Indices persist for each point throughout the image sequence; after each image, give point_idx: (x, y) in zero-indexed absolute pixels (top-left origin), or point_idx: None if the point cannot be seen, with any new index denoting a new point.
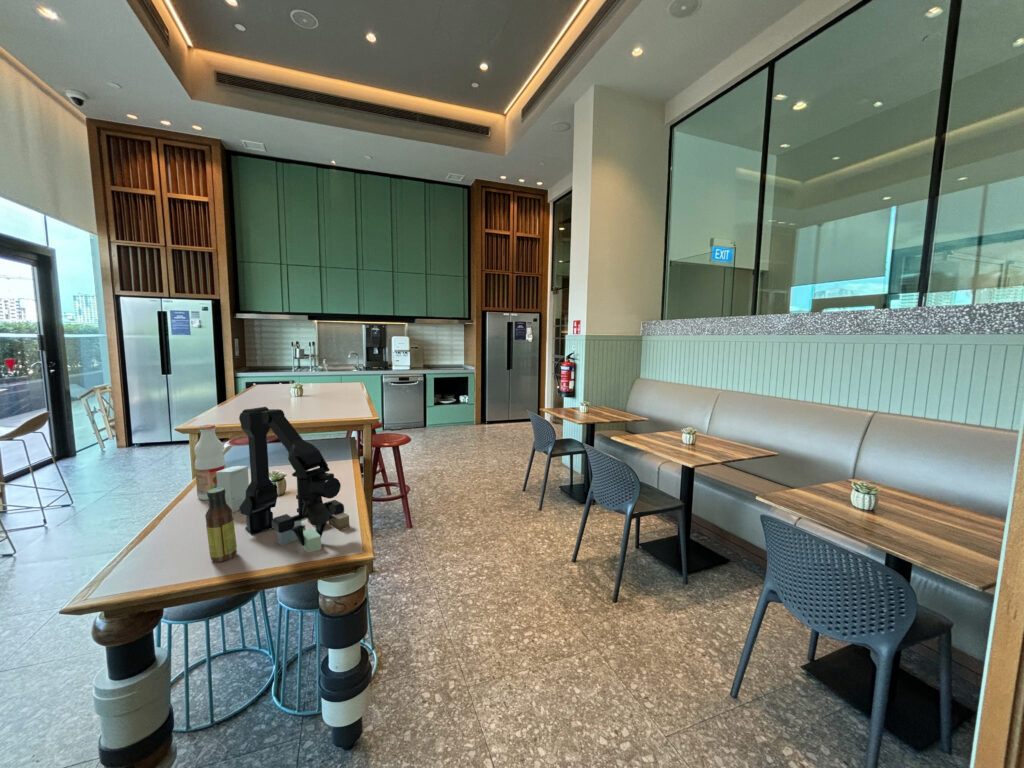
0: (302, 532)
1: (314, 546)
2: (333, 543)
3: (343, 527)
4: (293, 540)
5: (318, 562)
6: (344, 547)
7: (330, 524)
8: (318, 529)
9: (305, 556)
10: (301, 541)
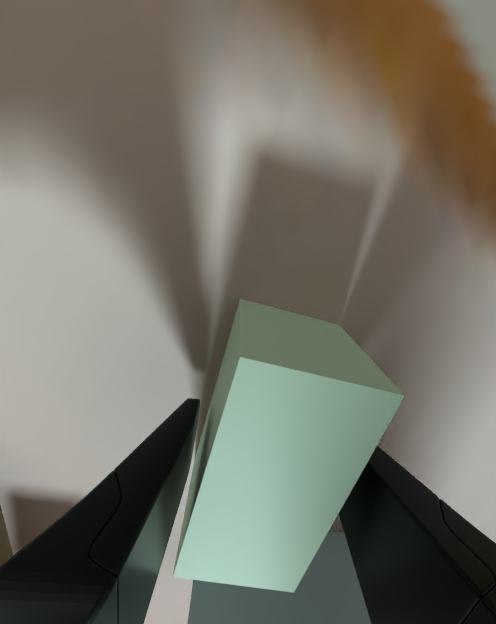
0: (472, 568)
1: (300, 327)
2: (120, 290)
3: None
4: None
5: (433, 57)
6: (80, 106)
7: (1, 545)
8: (166, 513)
9: (393, 288)
10: (382, 450)
